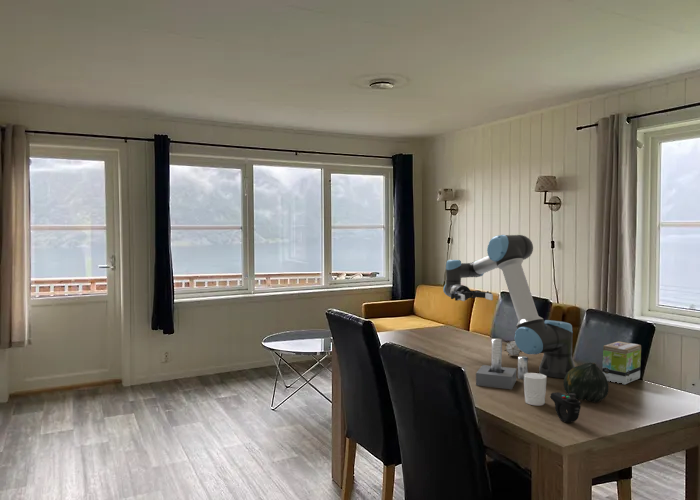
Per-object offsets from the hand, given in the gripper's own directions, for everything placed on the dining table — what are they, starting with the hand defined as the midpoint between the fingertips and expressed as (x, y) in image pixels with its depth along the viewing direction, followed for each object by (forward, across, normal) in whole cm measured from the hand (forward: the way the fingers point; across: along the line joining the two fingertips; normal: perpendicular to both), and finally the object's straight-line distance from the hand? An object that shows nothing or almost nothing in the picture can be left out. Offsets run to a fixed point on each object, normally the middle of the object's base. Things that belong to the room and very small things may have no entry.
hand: (478, 297), depth 243 cm
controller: (+70, 0, -32) cm, 77 cm away
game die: (-16, -26, -32) cm, 44 cm away
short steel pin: (+21, -11, -32) cm, 40 cm away
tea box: (+30, -51, -32) cm, 67 cm away
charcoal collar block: (+25, +3, -32) cm, 41 cm away
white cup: (+51, 0, -32) cm, 61 cm away
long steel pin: (+25, +3, -32) cm, 41 cm away
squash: (+51, -20, -32) cm, 64 cm away
